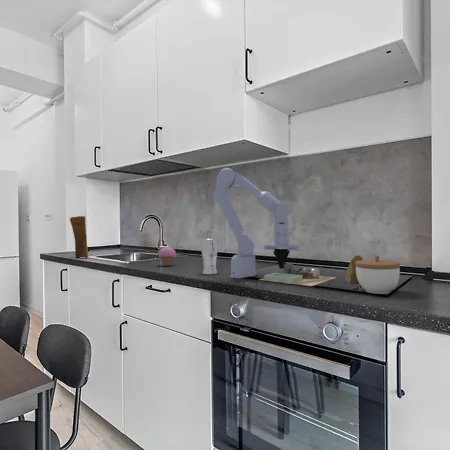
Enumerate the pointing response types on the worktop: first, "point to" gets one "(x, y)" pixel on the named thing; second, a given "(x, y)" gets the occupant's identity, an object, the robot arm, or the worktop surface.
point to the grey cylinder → (310, 271)
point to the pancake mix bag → (79, 236)
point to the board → (309, 281)
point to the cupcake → (167, 255)
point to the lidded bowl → (377, 275)
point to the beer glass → (209, 255)
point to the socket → (305, 275)
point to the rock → (352, 270)
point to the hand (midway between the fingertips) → (281, 268)
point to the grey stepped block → (290, 269)
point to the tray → (283, 277)
